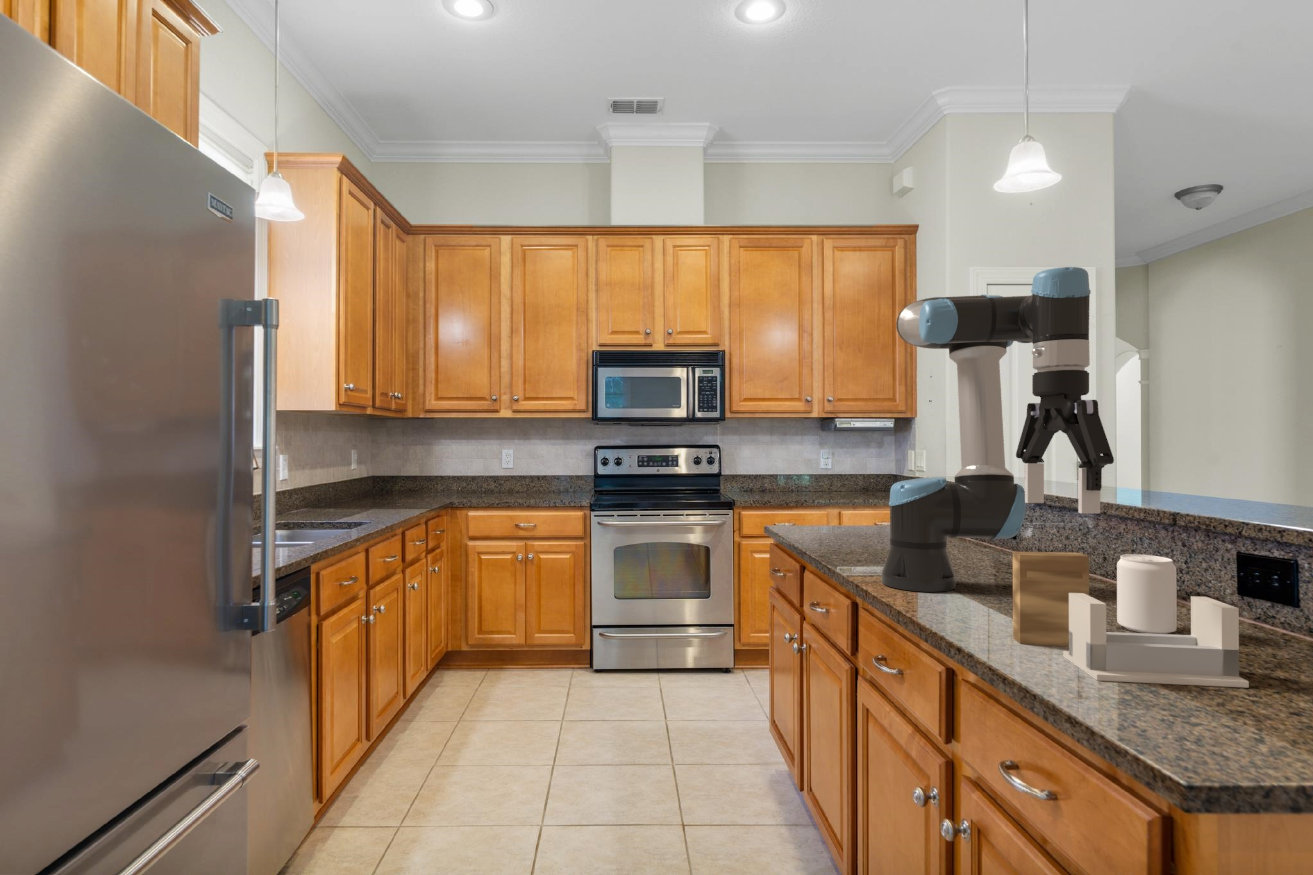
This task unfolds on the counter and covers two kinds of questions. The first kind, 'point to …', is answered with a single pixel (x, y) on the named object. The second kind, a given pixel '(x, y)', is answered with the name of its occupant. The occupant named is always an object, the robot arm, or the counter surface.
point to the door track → (1157, 647)
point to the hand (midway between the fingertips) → (1060, 507)
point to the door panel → (1046, 595)
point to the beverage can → (1147, 594)
